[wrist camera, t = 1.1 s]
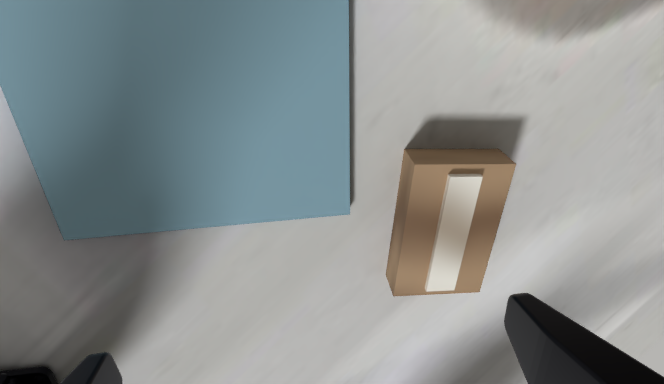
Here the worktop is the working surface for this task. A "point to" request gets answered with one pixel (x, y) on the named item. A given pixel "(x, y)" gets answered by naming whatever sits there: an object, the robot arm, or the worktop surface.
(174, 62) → the mat
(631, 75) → the worktop surface
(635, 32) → the worktop surface
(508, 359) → the worktop surface
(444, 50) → the worktop surface
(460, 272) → the brown cardboard box
